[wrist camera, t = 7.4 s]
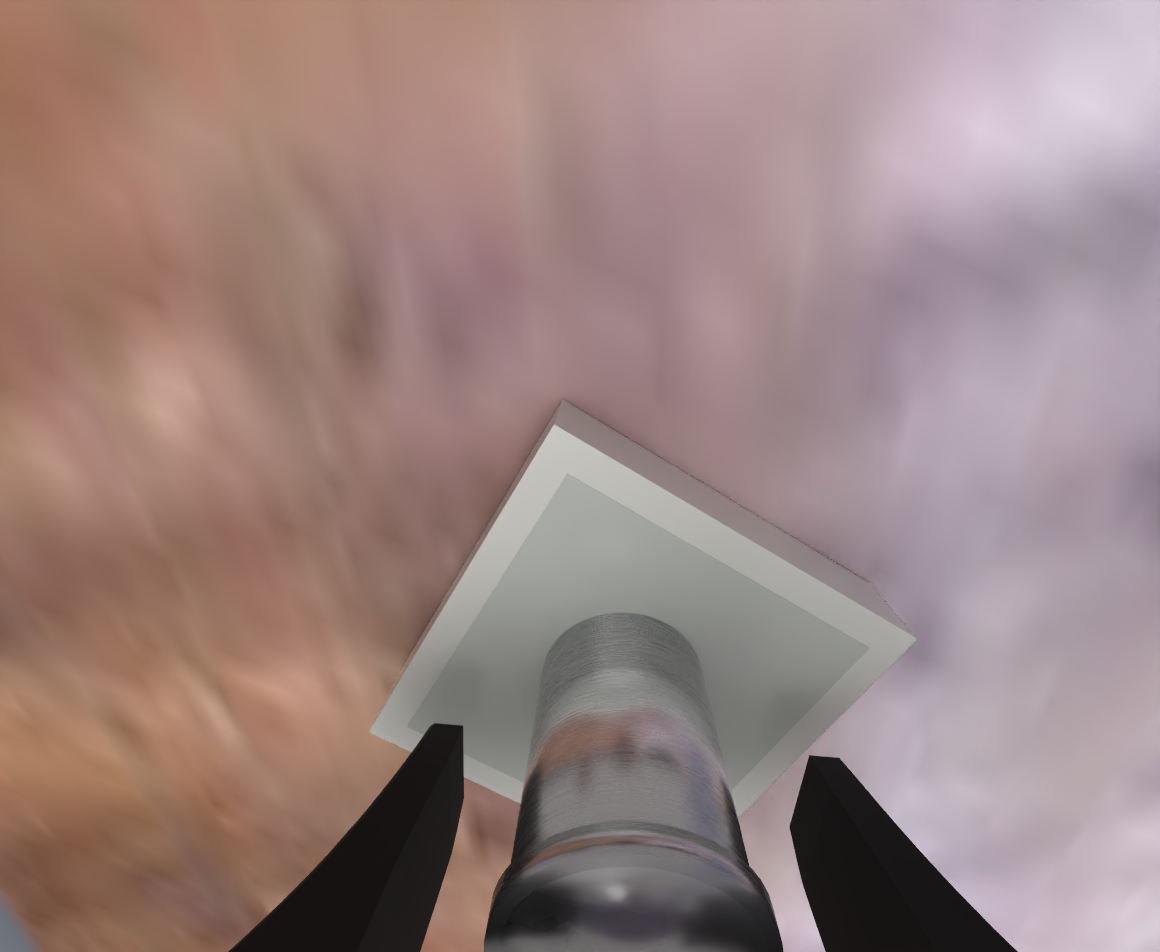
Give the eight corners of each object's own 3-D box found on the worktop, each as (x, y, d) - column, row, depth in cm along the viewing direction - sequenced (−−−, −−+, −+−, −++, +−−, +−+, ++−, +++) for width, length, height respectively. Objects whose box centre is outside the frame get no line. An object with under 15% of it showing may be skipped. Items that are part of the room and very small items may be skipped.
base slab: (870, 583, 15) (918, 640, 13) (668, 802, 19) (678, 879, 16) (562, 399, 14) (553, 425, 12) (400, 669, 17) (367, 733, 15)
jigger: (717, 607, 13) (802, 863, 7) (704, 751, 14) (765, 1055, 9) (531, 603, 13) (473, 849, 7) (537, 745, 15) (493, 1040, 9)
